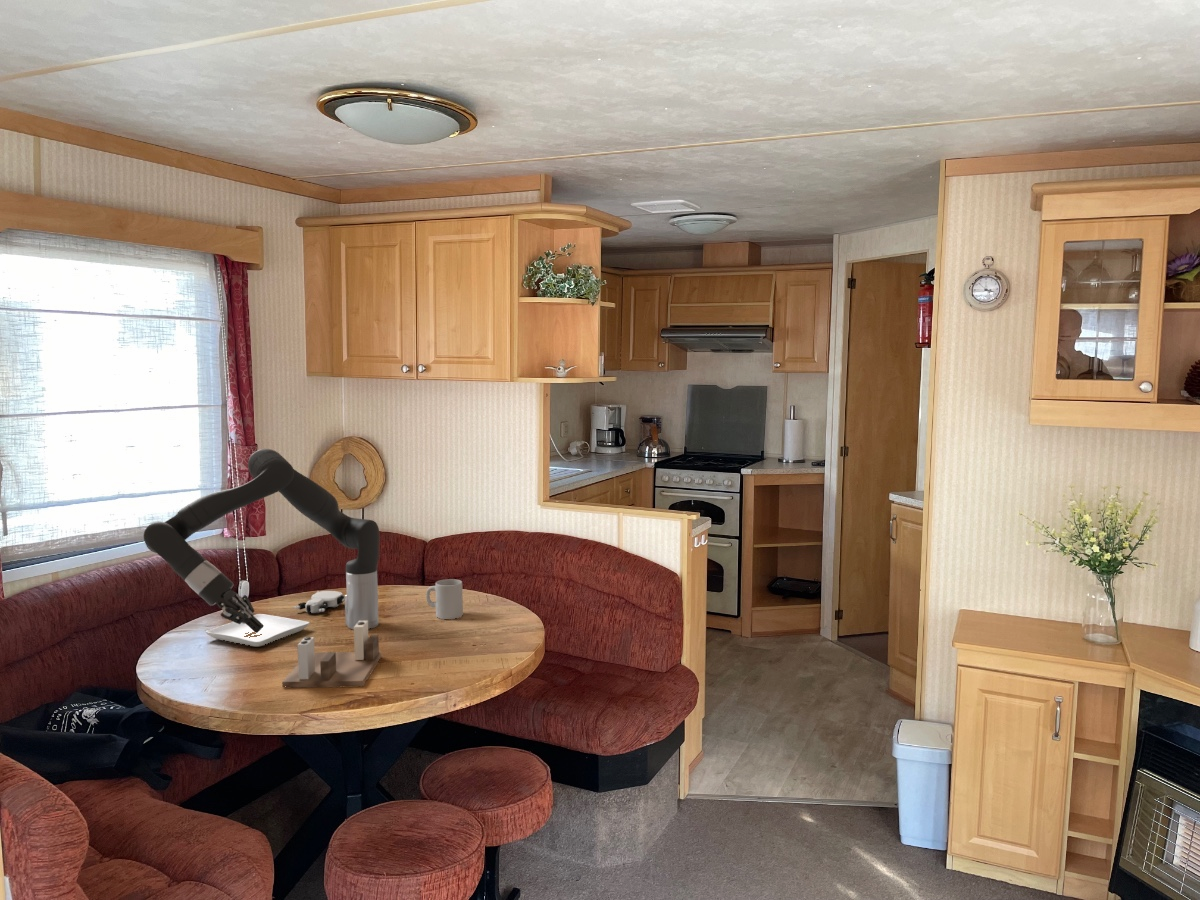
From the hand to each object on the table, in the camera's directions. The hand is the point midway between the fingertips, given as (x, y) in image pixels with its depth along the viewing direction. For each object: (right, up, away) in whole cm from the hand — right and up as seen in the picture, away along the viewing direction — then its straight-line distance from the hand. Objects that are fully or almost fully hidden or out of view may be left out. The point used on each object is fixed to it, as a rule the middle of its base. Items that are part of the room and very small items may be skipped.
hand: (260, 629), depth 227 cm
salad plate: (-15, -10, +39) cm, 43 cm away
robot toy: (-5, -7, +67) cm, 67 cm away
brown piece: (+15, -13, +9) cm, 22 cm away
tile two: (+11, -12, +2) cm, 17 cm away
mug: (+36, -8, +59) cm, 70 cm away
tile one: (+22, -10, +16) cm, 29 cm away
